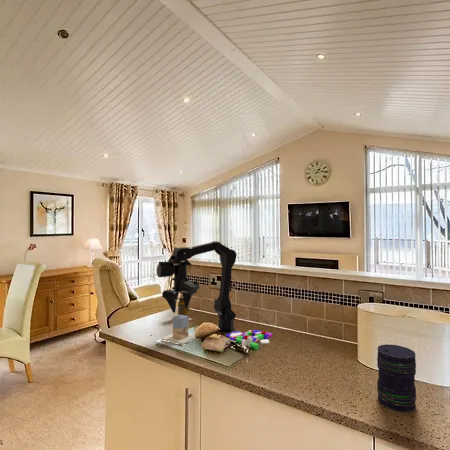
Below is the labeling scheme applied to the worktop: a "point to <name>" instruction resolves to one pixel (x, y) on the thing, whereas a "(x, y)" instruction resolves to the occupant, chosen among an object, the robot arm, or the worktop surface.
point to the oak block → (180, 333)
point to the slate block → (180, 321)
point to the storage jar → (396, 378)
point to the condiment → (183, 308)
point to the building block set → (250, 338)
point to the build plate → (179, 341)
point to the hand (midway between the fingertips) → (180, 310)
